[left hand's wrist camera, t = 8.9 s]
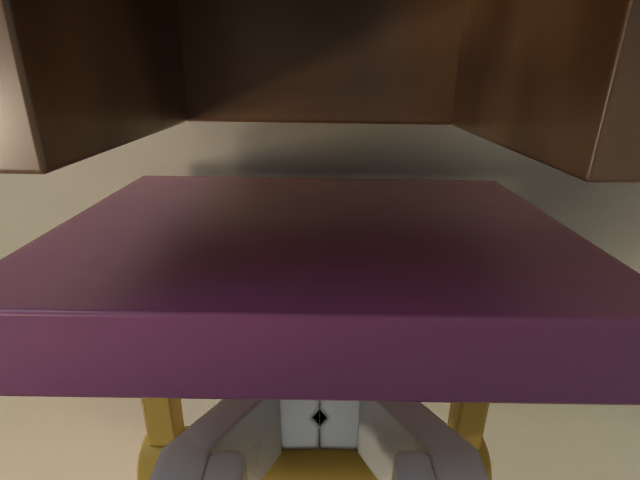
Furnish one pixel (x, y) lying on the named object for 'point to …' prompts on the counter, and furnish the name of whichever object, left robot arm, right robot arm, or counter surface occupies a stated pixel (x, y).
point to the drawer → (320, 211)
